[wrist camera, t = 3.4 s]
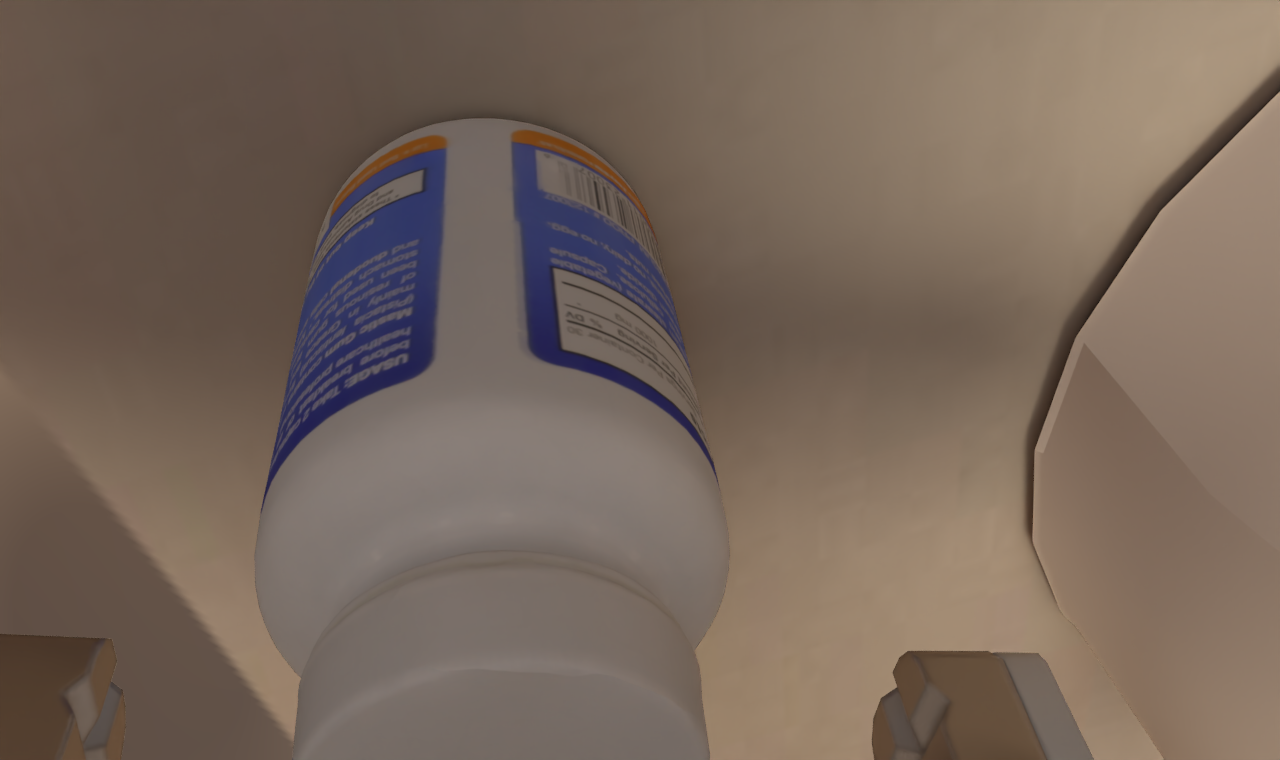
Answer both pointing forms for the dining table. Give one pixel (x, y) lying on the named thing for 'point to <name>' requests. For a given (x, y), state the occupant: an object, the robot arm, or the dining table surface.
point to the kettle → (1180, 465)
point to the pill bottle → (491, 467)
